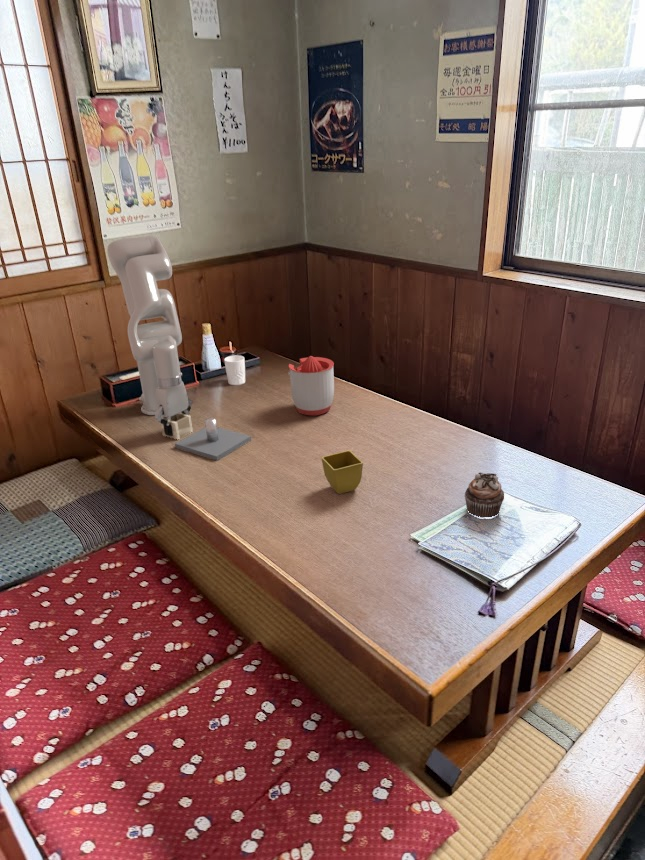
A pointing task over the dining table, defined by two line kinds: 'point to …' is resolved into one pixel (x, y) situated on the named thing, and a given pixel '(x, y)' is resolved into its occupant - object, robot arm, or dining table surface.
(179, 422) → the birch collar
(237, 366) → the white cup
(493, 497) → the cupcake
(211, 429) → the grey cylinder
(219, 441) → the grey board
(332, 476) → the flower pot
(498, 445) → the dining table surface
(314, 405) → the citrus juicer
